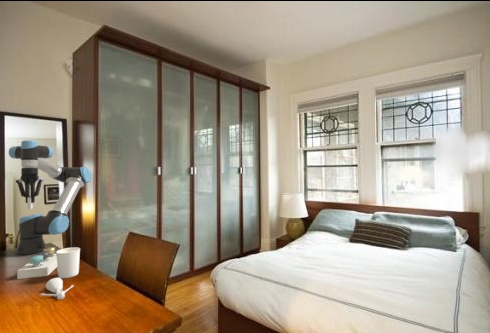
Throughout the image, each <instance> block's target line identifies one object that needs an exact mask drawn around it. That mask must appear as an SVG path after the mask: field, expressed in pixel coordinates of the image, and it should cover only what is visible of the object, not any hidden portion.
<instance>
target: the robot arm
mask: <svg viewBox="0 0 490 333" xmlns="http://www.w3.org/2000/svg"><path fill="white" fill-rule="evenodd" d="M20 143H21V144H20V145H16V146H11V147H10V148H9V149H8V155H9V157H10V158H12V159H16V160H18V159H20V162H21V164H20V165H21V169H20V170H21V174H20V175H21V176H20V178H18V179H16V180H15V183H16V184H17V185H18V190H19V193H20V197H23V198H25V204H27V210H32V209H33V208H34V206H33V205H34V203H35V198H36V197H38V196H39V194H40V190H41V187H42V184H43V182H44V179H43V178H40V176H39V171H41V172H44V173H45V174H47V175H48V177H50V178H51V179H53V180H56V181H58V182H61V183H64V184H65V187H64V188H63V190H62V192H61V194H60V195H59V197H58V199H57V201H56V203H55V205H54V207H53V209H50V210H49V211H48V212H47V213H46V215H44V214H43V213H36V214H35V213H34V214H31V215H25V216H21V217H20V218H19V221H18V222H19V224H18V228H19V229H18V230H19V233H18V235H19V236H18V237H19V242H18V243H17V247H16V249H15V254H16V256H17V255H19V256H22V255H23V256H27V255H33V254H37V253H39V252H44V248H47V245H46V242H45V239H44V235H51V236H53V235H54V236H55V235H62V234H64V233H65V232H66V231H67V230H68V228H69V225H70V224H69V223H70V220H69V215H68V212H69V211H70V209H71V207H72V205H73V203H74V201H75V198H76V197H77V195H78V193H79V191H80V189H81V188H83V187H84V186H85V184H88V183H90V182H91V179H92V173H91V171H90V170H91V169H89V168H88V167H86V166H80V167H74V166H72V167H67V166H66V167H63V166H60V165H57V164H55V163H53V162H51V161H49V160H47V159H50V158H52V157H53V155H54V149H53V148H52V146H51V147H50V146H47V145H39V144H38V141H37V140H22V141H21V142H20ZM36 182H37V183H36ZM23 183H24V184H23ZM36 184H37V185H36ZM35 186H36V187H35Z"/></svg>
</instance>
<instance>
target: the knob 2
mask: <svg viewBox="0 0 490 333" xmlns="http://www.w3.org/2000/svg"><path fill="white" fill-rule="evenodd" d="M44 251H49V252H50V257H53V254H56V246H50V247H46V248H44ZM44 251H43V252H44Z"/></svg>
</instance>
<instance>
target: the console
mask: <svg viewBox="0 0 490 333" xmlns="http://www.w3.org/2000/svg"><path fill="white" fill-rule="evenodd" d="M55 269H57V256H56V253H53V257H48V258H47V261H46V262H40V267H33V264H30V261H29V262H28V263H26V264H25V265H23V266H22V267H21V268H19V269H18V270H17V271H16V272H17V275H16V276H17V280H21V279H31V278H32V279H33V278H41V277H48V276H49V275H50V274H51V273H53V271H54V270H55Z"/></svg>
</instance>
